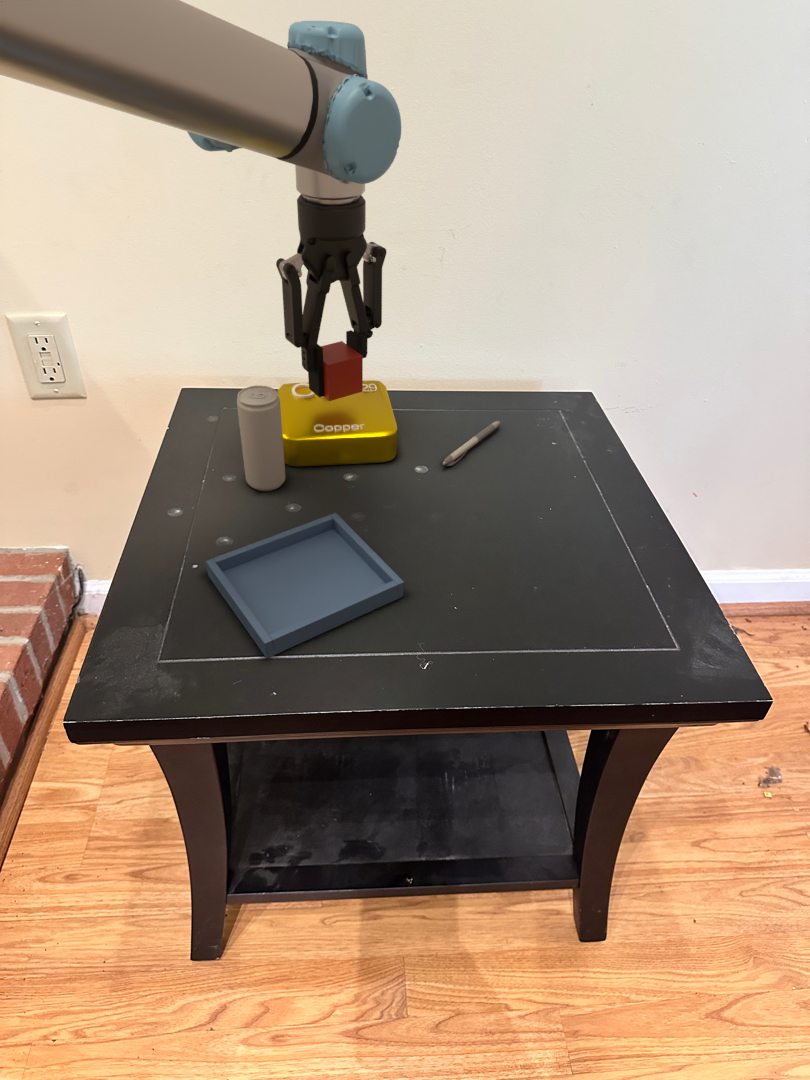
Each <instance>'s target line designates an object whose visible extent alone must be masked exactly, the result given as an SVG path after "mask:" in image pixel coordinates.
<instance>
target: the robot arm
mask: <svg viewBox="0 0 810 1080" xmlns="http://www.w3.org/2000/svg"><path fill="white" fill-rule="evenodd" d="M287 34H288V36H287V37H288V39H287V44H286V47H284V46H282V45H280V44H277V43H276V42H273V41H271V40H269V39H266V38H264V37H262V36H261V35H260V36H259V35H258V34H256V33H253V32H251V31H249V30H247V29H245V28H242V27H240V26H238V25H236V24H233V23H231V22H229V21H226V20H225V19H222V18H220V17H218V16H215V15H213V14H212V13H209V12H207V11H204V10H202V9H200V8H198V7H196V6H193V5H191V4H189V3H186V2H184V1H182V0H0V76H3V77H6V78H10V79H12V80H16V81H20V82H23V83H26V84H29V85H33V86H36V87H39V88H43V89H46V90H50V91H52V92H56V93H59V94H62V95H66V96H69V97H73V98H75V99H79V100H83V101H85V102H89V103H93V104H94V105H99V106H102V107H106V108H109V109H113V110H115V111H119V112H122V113H126V114H129V115H132V116H136V117H139V118H142V119H145V120H147V121H148V120H149V121H152V122H154V123H155V122H156V123H159V124H161V125H165V126H168V127H172V128H174V129H178V130H182V131H185V132H187V134H188V136H189V137H190V139H191V140H192V141H193V143H194V144H195V145H196V146H197V147H199V148H200V149H202V150H203V151H207V152H227V153H232V152H233V151H234V150H235V151H236V150H239V149H245V150H248V151H252V152H254V153H258V154H261V155H265V156H267V157H270V158H274V159H277V160H279V161H282V162H285V163H288V164H291V165H294V168H295V169H294V170H295V188H296V191H297V192H298V193H299V194H300V195H299V196H298V197H297V199H296V208H297V227H298V233H299V244H298V246H297V249H296V253H295V254H294V255H292V256H290V257H288V258H287V259H285V258H282V257H280V258H278V259H277V260H276V262H275V266H276V268H277V271H278V274H279V276H280V279H281V288H282V290H281V291H282V308H283V323H284V325H283V326H284V338H285V339H286V341H288V342H289V343H291V345H293V346H294V347H295V348H298V349H299V348H300V349H301V350H300V352H301V353H300V355H301V366H302V367H303V369H304V370H305V372H307V373H308V374H307V376H308V378H307V379H308V383H309V389H310V390H311V391H312V392H314V393H315V394H316V395H317V396H318V397H323V396H324V371H323V348H322V347H321V346H322V345H320V344H318V343H319V342H318V341H319V337H320V330H321V324H322V321H323V315H324V309H325V304H326V298H327V294H329V293H330V290H331V286H332V284H333V283H336V282H338V281H339V283H340V287H341V290H342V291H341V292H342V294H343V299H344V303H345V306H346V310H347V313H348V315H347V316H348V318H349V322H350V326H351V328H352V329H353V330H352V329H350V330H346V331H345V339H346V340H345V344H347V345H348V346H349V347H351V348H352V349H354V350H355V351H356V352H358V353H359V354H361V355H362V356H363V359H365V358H367V356H368V339H370V338H372V337H373V335H374V332H373V329H379V328H380V327H382V323H383V316H382V315H383V267H384V263H385V259H386V256H387V249H386V248H385V247H383V246H382V245H380V244H378V243H376V242H374V241H370V242H367V240H366V238H365V235H364V233H365V231H366V221H367V220H366V211H367V210H366V209H367V208H366V199H365V198H364V196H363V194H364V193H365V192H366V184H370V183H373V182H375V181H376V180H378V179H380V178H381V177H383V176H384V175H385V174H386V173H387V172H388V170H389V169H390V168H391V166H392V164H393V163H394V161H395V158H396V156H397V154H398V149H399V147H400V141H401V137H402V118H401V112H400V109H399V107H398V103H397V100H396V99H395V97H394V95H393V94H392V93H391V92H390V90H389V89H388V88H387V87H386V86H384V85H383V84H381V83H380V82H377V81H375V80H370V79H368V78H369V77H368V71H367V70H368V69H367V50H366V39H365V35H364V32H363V31H362V29H361V28H360V27H359V26H357V25H356V24H355V23H354V24H353V23H350V22H344V21H343V22H342V21H333V20H301V21H295V22H293V23H291V24H290V25H289V28H288V33H287ZM362 259H363V262H362V290H361V287H360V285H361V279H360V274H359V269H358V266H359V264H360V262H361V260H362ZM303 265H304V267H305V269H306V270H307V274H306V281H305V283H306V293H305V298H304V304H303V292H302V282H301V279H300V278H301V277H302V276H303V273H302V267H303ZM361 291H362V292H361ZM363 371H364V369H362V385H363V381H364V380H363V379H364V378H363Z"/></svg>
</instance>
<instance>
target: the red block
mask: <svg viewBox="0 0 810 1080" xmlns="http://www.w3.org/2000/svg"><path fill="white" fill-rule="evenodd" d="M320 346H321V347H322V348H323V371H324V396H323V397H325V398H326V399H327V400H328V401H332V400H335V399H339V398H342V397H346V396H349V395H353V394H356V393H359V392H362V369H363V364H364V363H363V359H364V358H363V356H362V355H361V354H359V353H358V352H356V351H355V350H354V349H352V348H351V347H349V346H348V345H347V344H346V342H344V341H342V340H341V341H337V342H332V343H329V344H324V345H320ZM363 370H364V369H363Z"/></svg>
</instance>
